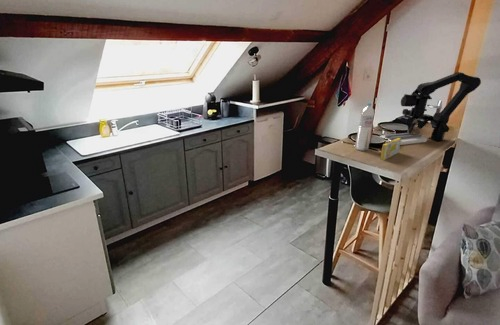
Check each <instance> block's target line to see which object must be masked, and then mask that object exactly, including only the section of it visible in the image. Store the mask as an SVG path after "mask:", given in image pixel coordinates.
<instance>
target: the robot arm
mask: <svg viewBox="0 0 500 325" xmlns="http://www.w3.org/2000/svg"><path fill="white" fill-rule="evenodd" d="M456 82H459V83H460V85H459V88H458V91H457V92H456V93H455V94H454V96H453V97H452V98H451V99H450V101H448V103H447V104H446V105H445V107H444V108H443V109H442V110H441V111H439V112H434V114H433V115H430V114H427V113H425V112H427V109H426V106H427V103H428V100H432V97H431V95H432V94H433V93H435V91H437V90H438V89H440V88H444V87H445V86H448V85H450V84H451V85H452V84H453V83H456ZM481 83H482V81H481V78H480V77H478V76H472V75H468V74H465V73H464V72H462V71H461V72H460V71H456V72H454V73H452V74H449V75H446V76H444V77H442V78H439V79H437V80H433V81H430V82H429V81H428V82H424V83H420V84H418V86H417V87H416V89H415V90H414V91H413V92H412V93H411V94H407V93H405V94H404V95H403V96H402V97H401V100H400V105H401V107H408V108H409V107H411V109H408V108H404V109H403V110H402V115H403V116H401V117H400V121H401V122H403V123H406V125H407V131H408V132H407V133H411V131H412V130H413V128H414V126H415V125H416V122H417V125H416V127H419V128H421V129H420V131H421V130H422V129H423V128H424V126H426V125H427V124H428V123H429V122H430V125H431V129H433V130H432V132H431V135H430V136H429V137H428V139H429V140H432V141H434V142H437V143H438V142H445V141H446V139H444V138H445V135H446V133H448V132H449V131H450V127H449V126H448V125H447V124H448V123H449V121H450V116H451V115H452V114H453V113H454V111H455V110H456V108H457V107H458V106H459V105H460V104H461V103H462V102H463V100H464V99H466V97H467V96H468V94H470V93H473V92H475V90H476V89H477V88H478V87H479V86H481ZM415 121H416V122H415Z"/></svg>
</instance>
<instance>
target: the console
mask: <svg viewBox="0 0 500 325" xmlns="http://www.w3.org/2000/svg"><path fill="white" fill-rule="evenodd" d="M379 136H380V137H382V138H385V139H388V140H391V141H392V140H394V139H397V138H401V143H400V146H403V145H411V144H420V143H426V142H427V141H428V137H424V136H423V134H421V133H419V134H412V135H411V133H409V132H402V133H401V132H400V133H394V134H384V135H383V134H382V135H379Z"/></svg>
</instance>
